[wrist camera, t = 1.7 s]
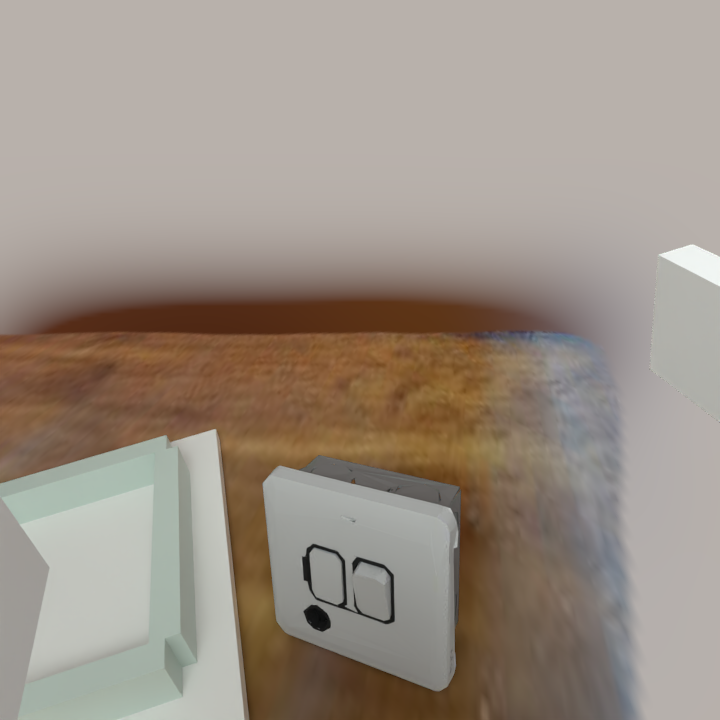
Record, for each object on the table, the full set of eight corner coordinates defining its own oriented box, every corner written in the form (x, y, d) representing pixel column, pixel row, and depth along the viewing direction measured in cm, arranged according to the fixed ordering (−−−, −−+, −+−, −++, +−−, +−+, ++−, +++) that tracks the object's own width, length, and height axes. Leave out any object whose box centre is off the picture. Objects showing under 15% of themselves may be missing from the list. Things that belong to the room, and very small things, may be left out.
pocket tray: (-91, 531, 43) (-121, 496, 41) (219, 439, 46) (205, 402, 44) (-280, 931, 25) (-348, 902, 23) (251, 740, 28) (229, 700, 26)
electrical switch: (276, 634, 32) (237, 496, 28) (325, 561, 36) (299, 430, 31) (449, 701, 28) (437, 553, 23) (483, 611, 32) (479, 468, 27)
